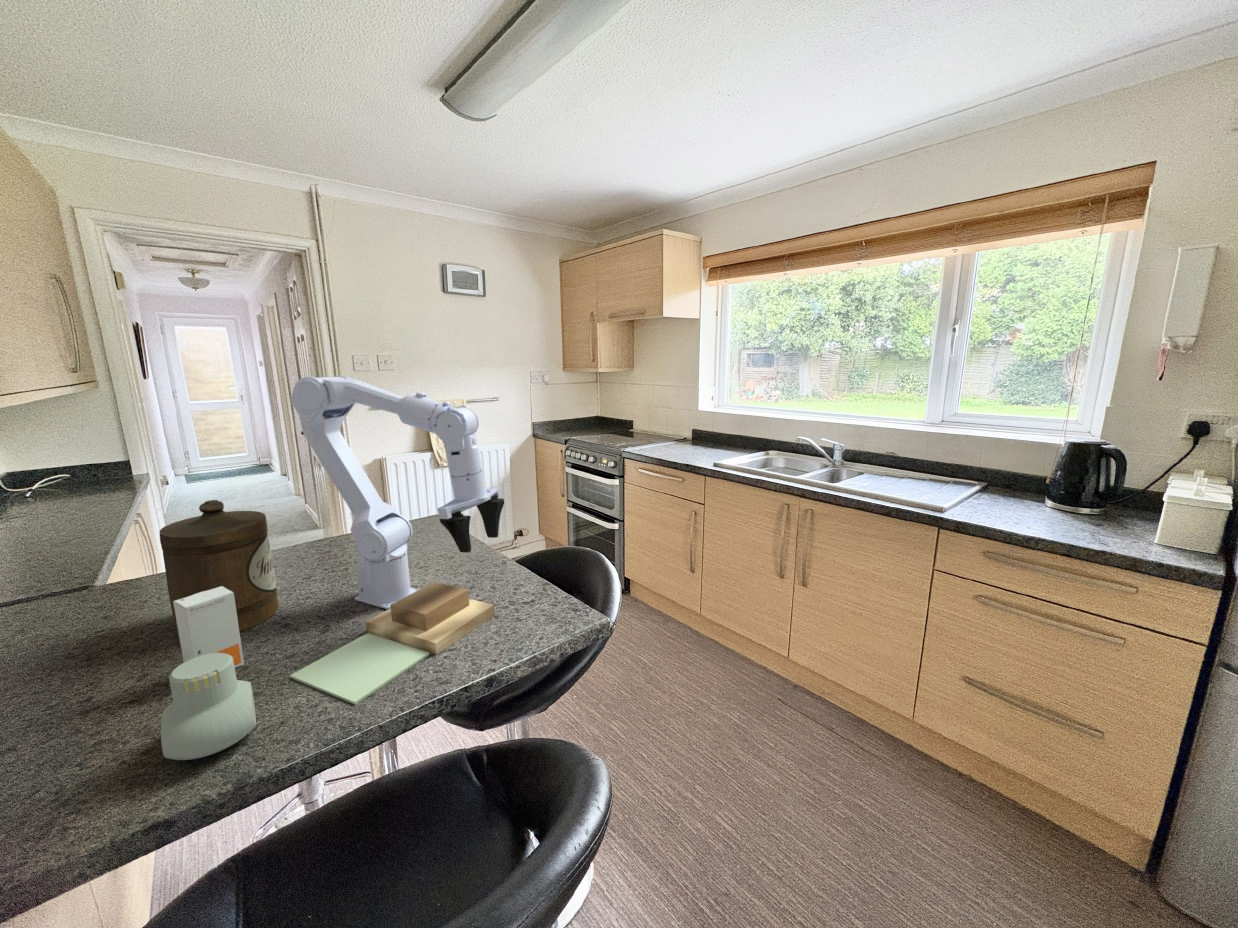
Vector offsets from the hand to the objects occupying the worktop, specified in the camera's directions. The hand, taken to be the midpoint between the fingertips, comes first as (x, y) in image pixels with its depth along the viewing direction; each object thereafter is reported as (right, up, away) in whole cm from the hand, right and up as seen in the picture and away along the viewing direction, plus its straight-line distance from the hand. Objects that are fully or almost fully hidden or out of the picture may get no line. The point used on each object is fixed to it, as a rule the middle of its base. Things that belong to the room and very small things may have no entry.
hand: (479, 544), depth 93 cm
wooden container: (-44, -13, -3) cm, 46 cm away
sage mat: (-13, -16, -18) cm, 27 cm away
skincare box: (-34, -16, -18) cm, 42 cm away
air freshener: (-23, -19, -32) cm, 44 cm away
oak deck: (-7, -13, -5) cm, 16 cm away
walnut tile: (-7, -11, -6) cm, 14 cm away
